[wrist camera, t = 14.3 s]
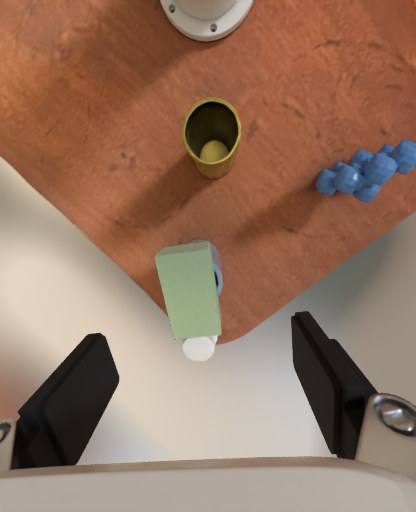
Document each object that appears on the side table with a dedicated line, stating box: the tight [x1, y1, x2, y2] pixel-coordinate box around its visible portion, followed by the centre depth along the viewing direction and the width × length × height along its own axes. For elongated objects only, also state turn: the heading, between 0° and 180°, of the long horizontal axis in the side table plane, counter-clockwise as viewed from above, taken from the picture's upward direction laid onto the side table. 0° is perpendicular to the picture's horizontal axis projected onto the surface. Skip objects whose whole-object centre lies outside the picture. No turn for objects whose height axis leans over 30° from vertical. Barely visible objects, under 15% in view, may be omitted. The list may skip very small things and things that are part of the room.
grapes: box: [316, 139, 416, 203], centre depth 26 cm, size 12×7×12 cm, turn 112°
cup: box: [185, 239, 223, 296], centre depth 33 cm, size 8×8×9 cm
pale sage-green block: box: [154, 241, 221, 339], centre depth 26 cm, size 11×6×4 cm, turn 9°
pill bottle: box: [182, 335, 218, 362], centre depth 35 cm, size 6×6×10 cm
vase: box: [182, 97, 242, 179], centre depth 25 cm, size 6×6×14 cm
